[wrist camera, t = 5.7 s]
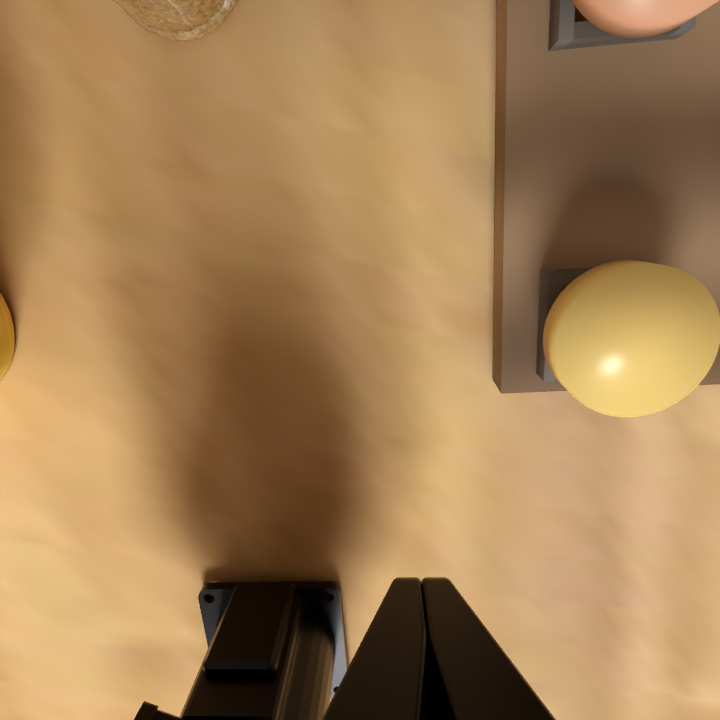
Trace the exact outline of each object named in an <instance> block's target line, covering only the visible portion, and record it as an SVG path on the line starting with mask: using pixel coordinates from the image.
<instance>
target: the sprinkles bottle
mask: <svg viewBox="0 0 720 720" xmlns="http://www.w3.org/2000/svg"><path fill="white" fill-rule="evenodd" d="M114 1H115V2H116V3H118V4H119V5H120V6H122V7H123V8H124V10H125V11H126V12H127V14H128V15H130V16H131V17H132V18H133V19H134V20H135V21H136V22H137V23H138V24H139V25H140V26H141V27H142V28H144V29H145V30H146V31H149V32H151V33H154V34H157V35H158V36H160V37H162V38H166V39H172V40H177V41H185V40H191V39H199V38H200V37H202V36H205V35H207V34H209V33H211V32H212V31H213V30H214V29H215V28H216V27H218V26H219V25H220V24H222V23H223V22H224V20H225V19H226V17H227V16H228V15H229V14H230V13H231V11H232V9H233V8H234V6H235V5H236V3H237V0H114Z"/></svg>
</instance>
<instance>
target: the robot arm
mask: <svg viewBox="0 0 720 720" xmlns="http://www.w3.org/2000/svg"><path fill="white" fill-rule="evenodd" d="M326 593H331V594H333V595H327V594H326ZM208 594H211V595H213V596H210V595H208ZM198 599H199V604H200V609H201V614H202V619H203V623H204V628H205V633H206V638H207V643H208V650H207V653H206V655H205V658H204V660H203V662H202V665H201V667H200V670H199V672H198V674H197V677H196V679H195V681H194V684H193V686H192V689H191V691H190V693H189V696H188V698H187V701H186V703H185V705H184V708H183V710H182V712H181V715H180V717H177V716H174V715H172V714H169V713H166V712H163V711H160V710H158V706H156V705H153V704H150V703H148V702H145V701H144V702H143V704H142V706H141V708H140V710H139V711H138V713H137V715H136V717H135V719H134V720H556V719H555V718H554V717H553V715H552V714H551V713H550V711H549V710H548V709H547V707H546V706H545V705H544V704H543V702H542V701H541V700H540V698H539V697H538V696H537V694H536V693H535V692H534V690H533V689H532V688H531V686H530V685H529V684H528V682H527V681H526V680H525V679H524V677H523V676H522V675H521V673H520V672H519V671H518V669H517V668H516V667H515V665H514V664H513V663H512V661H511V660H510V659H509V657H508V656H507V655H506V654H505V652H504V651H503V650H502V648H501V647H500V646H499V644H498V643H497V642H496V640H495V639H494V638H493V636H492V635H491V634H490V632H489V631H488V630H487V629H486V627H485V626H484V625H483V623H482V622H481V621H480V619H479V618H478V617H477V615H476V614H475V613H474V611H473V610H472V609H471V607H470V606H469V605H468V604H467V602H466V601H465V600H464V598H463V597H462V596H461V594H460V593H459V592H458V590H457V589H456V588H455V586H454V585H453V584H452V582H451V581H450V580H449V579H447V578H445V577H426V578H424V579H423V580H422V583H421V581H420V579H419V578H416V577H414V578H396V579H394V580H393V582H392V584H391V586H390V588H389V590H388V591H387V593H386V595H385V597H384V599H383V601H382V603H381V605H380V607H379V609H378V611H377V613H376V615H375V617H374V619H373V621H372V623H371V624H370V626H369V628H368V630H367V632H366V634H365V636H364V638H363V640H362V642H361V644H360V646H359V648H358V650H357V652H356V654H355V656H354V657H353V659H352V661H351V663H350V665H349V667H348V662H347V652H346V642H345V632H344V621H343V611H342V601H341V591H340V588H339V586H338V585H337V584H335V583H333V582H255V583H208V584H206V585H204V586H203V588H202V589H201V591H200V593H199V598H198ZM330 698H332V700H331V702H330Z"/></svg>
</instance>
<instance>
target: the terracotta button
mask: <svg viewBox="0 0 720 720" xmlns="http://www.w3.org/2000/svg"><path fill="white" fill-rule="evenodd" d="M718 1H720V0H572V2H573V3H574V5H575V6H576V8H577V9H578V10H579V12H580V13H581V14H582V15H583V16H584V17H585V18H586V19H587V20H588V21H589V22H590V23H592V24H593V25H595V26H596V27H598V28H599V29H601V30H603V31H605V32H607V33H610V34H613V35H617V36H620V37H628V38H645V37H650V36H656V35H659V34H662V33H665V32H668V31H670V30H673V29H675V28H677V27H679V26H681V25H682V24H684V23H686V22H687V21H689V20H690V19H692V18H694V17H695V16H697V15H698V14H700V13H701V12H703V11H704V10H706V9H707V8H709V7H710V6H712V5H713V4H715V3H717V2H718Z"/></svg>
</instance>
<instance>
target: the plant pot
mask: <svg viewBox="0 0 720 720" xmlns="http://www.w3.org/2000/svg"><path fill="white" fill-rule="evenodd" d="M14 347H15V336H14V326H13V321H12V317H11V314H10V311H9V308H8V306H7V304H6V302H5V300H4V298H3V296H2V294H1V293H0V381H1V380H2V378H3V377H4V375H5V374H6V373H7V371H8V369H9V367H10V364H11V362H12V358H13V353H14Z"/></svg>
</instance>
